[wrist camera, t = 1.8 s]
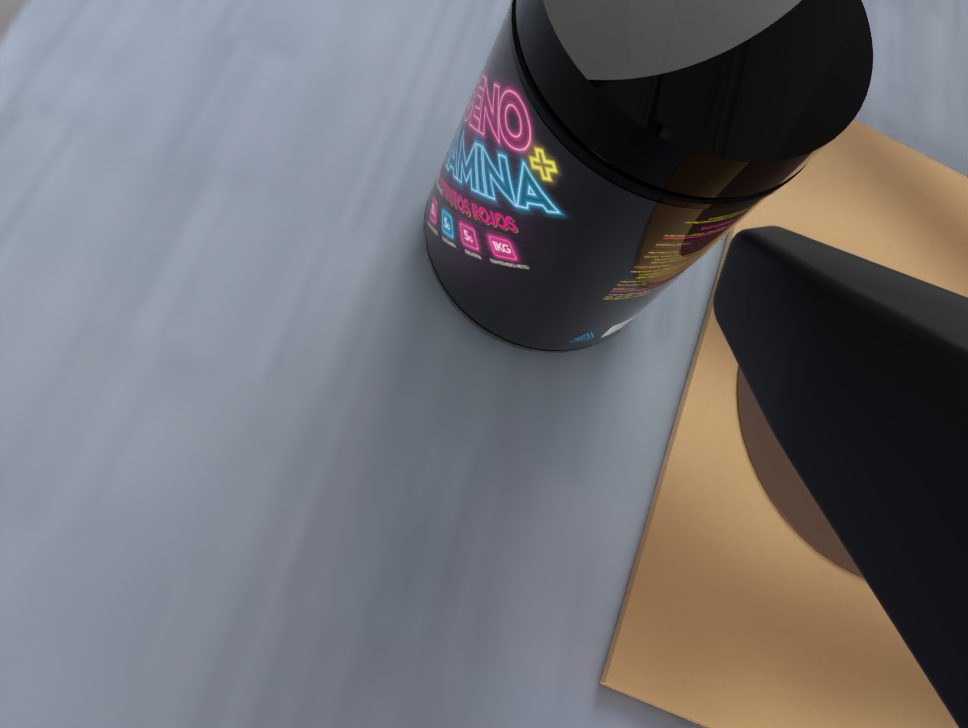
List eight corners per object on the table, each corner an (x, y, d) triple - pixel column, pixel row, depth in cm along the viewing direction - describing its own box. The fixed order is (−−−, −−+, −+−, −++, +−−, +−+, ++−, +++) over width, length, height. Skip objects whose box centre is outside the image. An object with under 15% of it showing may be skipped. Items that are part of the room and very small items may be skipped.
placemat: (1009, 854, 24) (1024, 856, 24) (598, 683, 23) (605, 683, 22) (1071, 240, 32) (1082, 233, 32) (770, 86, 31) (778, 77, 30)
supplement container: (512, 105, 28) (666, -200, 18) (684, 252, 28) (928, 22, 18) (365, 248, 25) (458, -26, 15) (556, 412, 25) (767, 238, 15)
